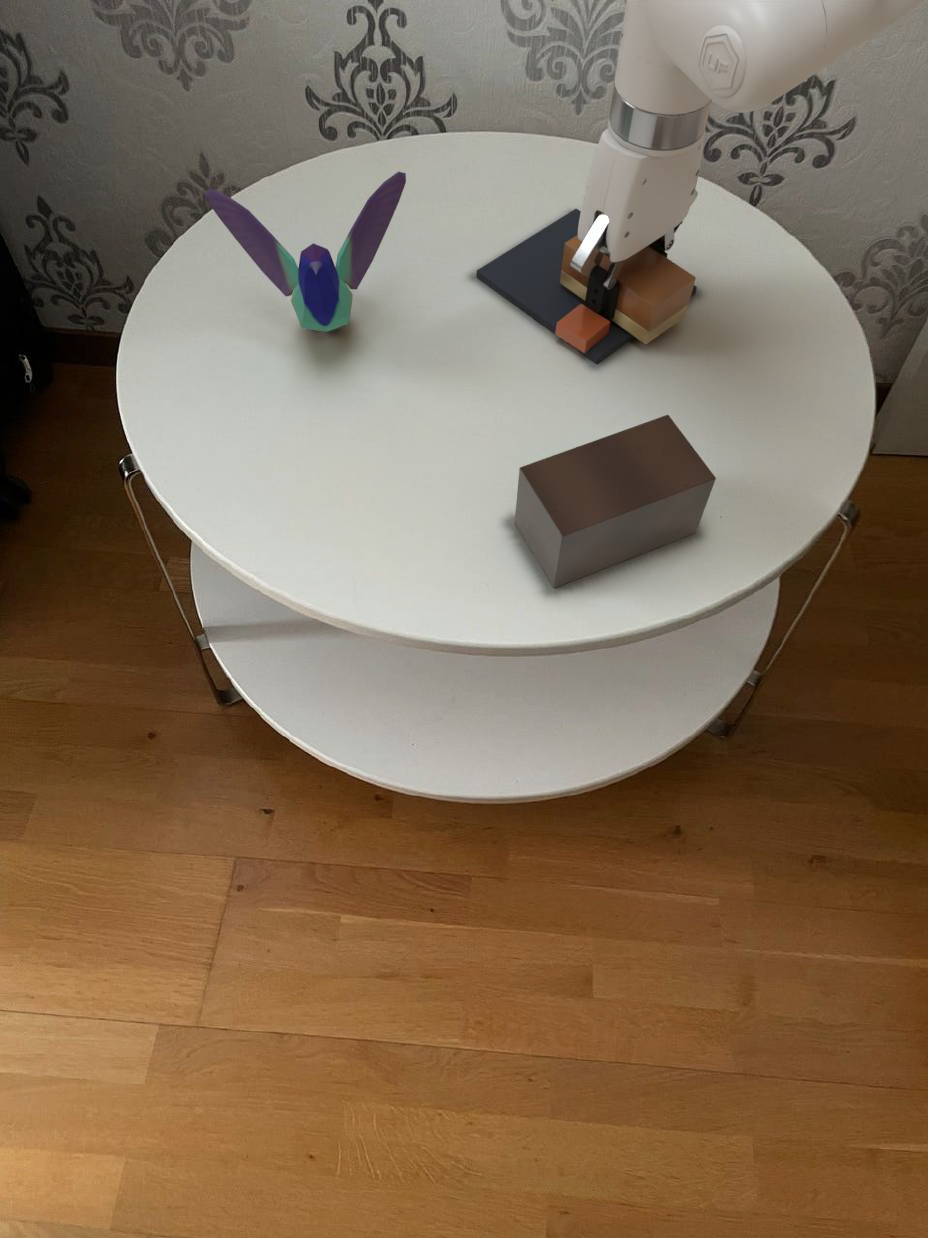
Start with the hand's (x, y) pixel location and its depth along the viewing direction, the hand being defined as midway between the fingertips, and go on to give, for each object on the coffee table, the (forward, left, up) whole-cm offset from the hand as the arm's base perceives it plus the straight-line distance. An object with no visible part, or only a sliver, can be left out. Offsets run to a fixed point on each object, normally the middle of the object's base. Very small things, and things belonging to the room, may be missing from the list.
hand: (622, 295), depth 88 cm
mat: (+5, 0, -2) cm, 5 cm away
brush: (0, 0, 0) cm, 0 cm away
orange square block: (0, +6, -1) cm, 6 cm away
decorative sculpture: (+16, +23, -2) cm, 28 cm away
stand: (-16, +20, -2) cm, 26 cm away
